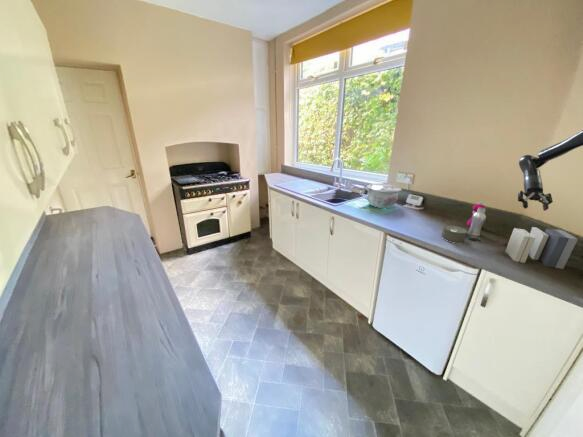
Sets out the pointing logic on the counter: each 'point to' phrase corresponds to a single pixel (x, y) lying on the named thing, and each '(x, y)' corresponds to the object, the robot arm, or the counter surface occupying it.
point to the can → (454, 233)
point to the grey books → (557, 248)
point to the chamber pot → (381, 195)
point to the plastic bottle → (477, 223)
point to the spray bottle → (475, 211)
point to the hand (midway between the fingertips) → (535, 208)
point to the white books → (519, 245)
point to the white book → (537, 243)
